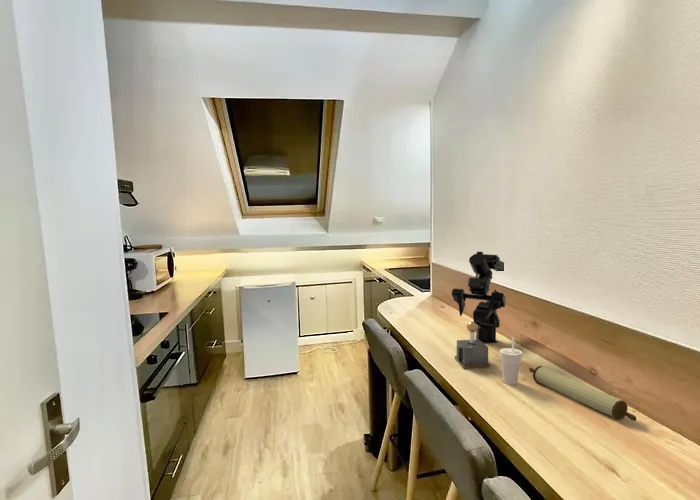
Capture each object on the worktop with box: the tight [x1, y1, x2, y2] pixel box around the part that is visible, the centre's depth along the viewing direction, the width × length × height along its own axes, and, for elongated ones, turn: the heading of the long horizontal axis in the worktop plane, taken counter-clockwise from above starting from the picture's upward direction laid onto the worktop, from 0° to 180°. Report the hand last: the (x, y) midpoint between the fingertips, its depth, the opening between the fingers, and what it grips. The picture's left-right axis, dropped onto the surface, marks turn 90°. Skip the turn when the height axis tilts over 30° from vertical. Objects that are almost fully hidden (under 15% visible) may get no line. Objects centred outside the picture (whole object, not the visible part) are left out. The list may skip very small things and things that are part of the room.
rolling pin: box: [528, 365, 637, 422], centre depth 111 cm, size 32×6×5 cm, turn 22°
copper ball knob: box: [466, 321, 478, 345], centre depth 137 cm, size 6×6×9 cm
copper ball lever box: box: [454, 339, 491, 370], centre depth 138 cm, size 9×9×7 cm
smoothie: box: [499, 336, 523, 386], centre depth 122 cm, size 6×6×14 cm
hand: (472, 316), depth 145 cm, fingers open, 9 cm apart
